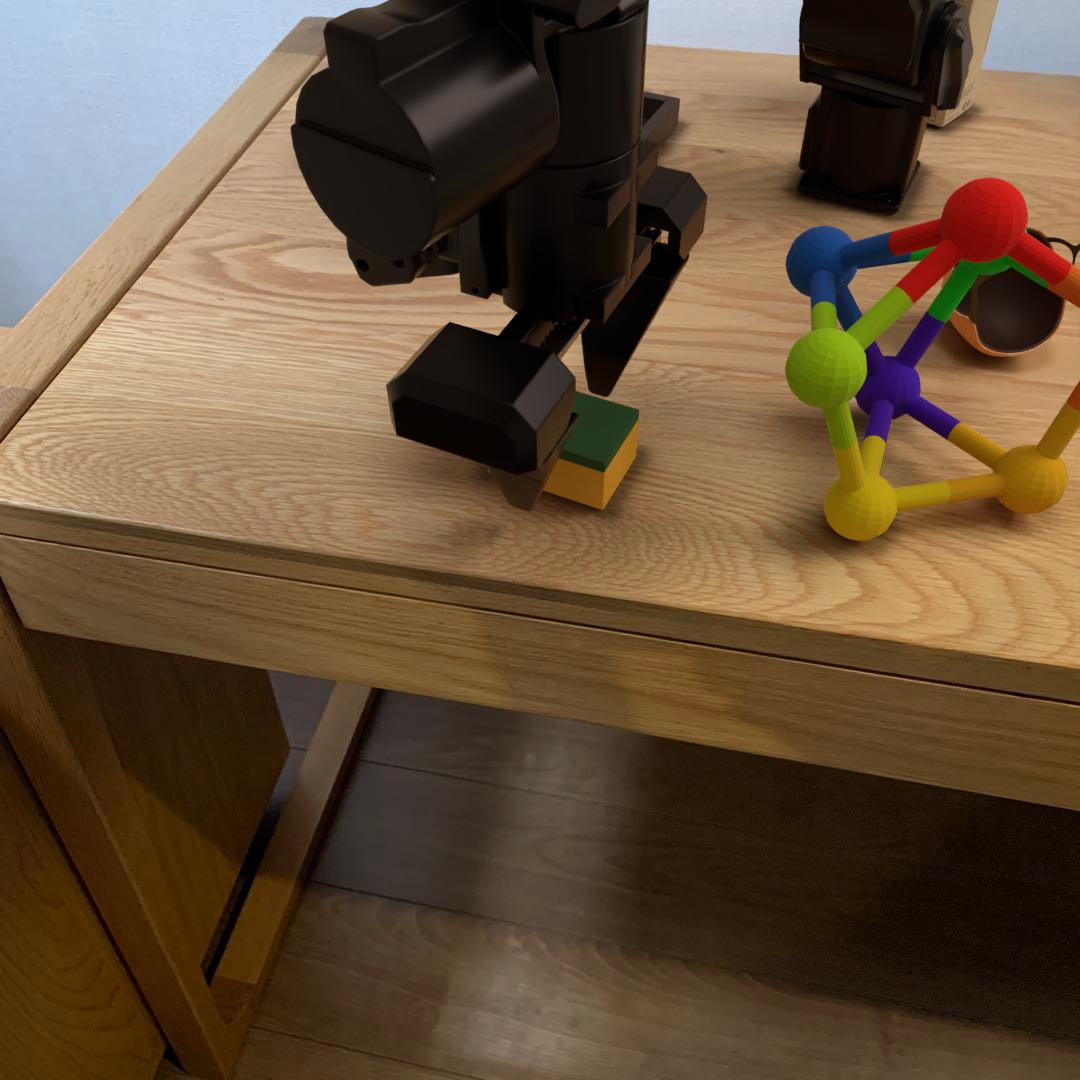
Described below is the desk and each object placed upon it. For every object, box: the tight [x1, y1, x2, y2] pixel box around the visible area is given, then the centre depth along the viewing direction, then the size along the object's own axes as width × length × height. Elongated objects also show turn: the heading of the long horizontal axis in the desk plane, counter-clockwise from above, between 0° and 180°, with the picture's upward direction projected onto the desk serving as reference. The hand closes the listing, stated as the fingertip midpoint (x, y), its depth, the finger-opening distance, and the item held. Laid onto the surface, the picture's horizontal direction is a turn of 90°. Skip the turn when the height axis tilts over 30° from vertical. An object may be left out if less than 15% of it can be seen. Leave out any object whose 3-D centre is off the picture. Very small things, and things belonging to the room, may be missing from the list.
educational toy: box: [784, 177, 1080, 542], centre depth 45 cm, size 16×13×15 cm
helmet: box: [941, 226, 1080, 358], centre depth 54 cm, size 6×7×8 cm
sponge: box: [487, 390, 640, 511], centre depth 50 cm, size 4×6×3 cm, turn 64°
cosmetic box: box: [927, 0, 1000, 128], centre depth 71 cm, size 6×4×12 cm
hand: (562, 447), depth 50 cm, fingers open, 8 cm apart
